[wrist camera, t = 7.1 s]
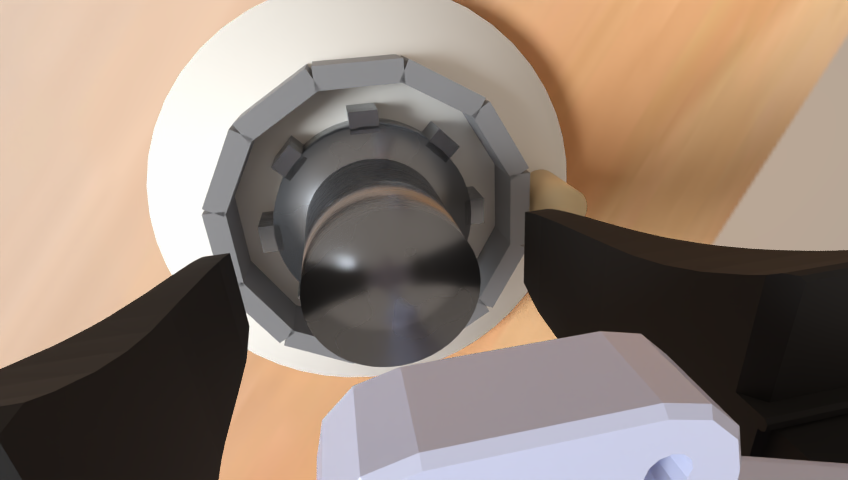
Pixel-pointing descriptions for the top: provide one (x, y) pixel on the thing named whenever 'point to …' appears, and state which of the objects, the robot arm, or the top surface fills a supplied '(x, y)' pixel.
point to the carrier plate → (326, 106)
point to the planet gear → (377, 237)
